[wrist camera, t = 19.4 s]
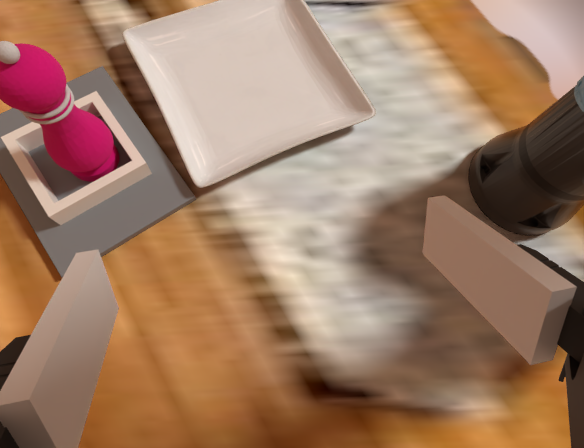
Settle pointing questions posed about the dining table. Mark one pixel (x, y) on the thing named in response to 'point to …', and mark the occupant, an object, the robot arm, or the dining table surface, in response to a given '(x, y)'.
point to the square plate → (244, 82)
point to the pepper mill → (55, 111)
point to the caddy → (83, 194)
